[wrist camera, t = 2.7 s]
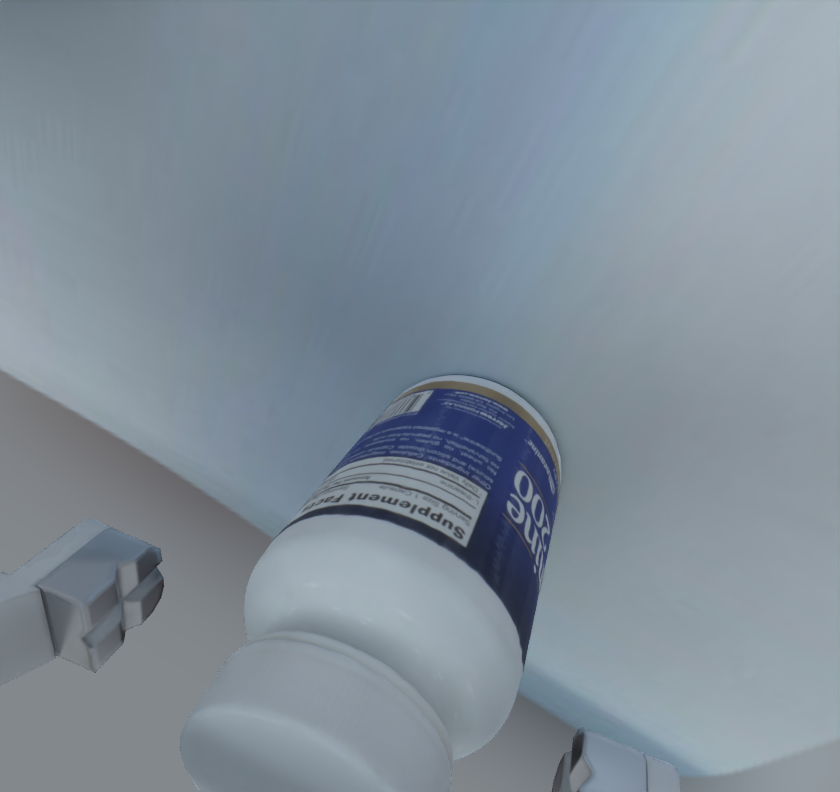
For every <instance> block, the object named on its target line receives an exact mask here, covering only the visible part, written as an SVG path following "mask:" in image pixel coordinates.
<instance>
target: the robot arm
mask: <svg viewBox="0 0 840 792" xmlns="http://www.w3.org/2000/svg"><path fill="white" fill-rule="evenodd" d="M161 562H162V557H161V549H160V548H157V547H155V546H153V545H151V544H148V543H146V542H144V541H141V540H139V539H137V538H135V537H133V536H130V535H128V534H126V533H124V532H121V531H119V530H117V529H115V528H113V527H111V526H108V525H106V524H104V523H101V522H99V521H96V520H94V519H92V518H91V519H88V520H86V521H82V522H80V523H79V524H77V525H76V526H75V527H73V528H72V529H71V530H69V531H68V532H67V533H65V534H64V535H63V536H61V537H60V538H59V539H57V540H56V541H55V542H53V543H52V544H51V545H49V546H48V547H47V548H45V549H44V550H43V551H41V552H40V553H39V554H37V555H36V556H34V557H33V558H32V559H30V560H29V561H28V562H26V563H25V564H24V565H22V566H21V567H20V568H18V569H17V570H16V571H14V572H13V573H12V574H10V575H9V574H7V573H4V572H2V573H0V685H2V684H5V683H7V682H9V681H11V680H13V679H15V678H17V677H19V676H21V675H23V674H25V673H27V672H29V671H31V670H33V669H35V668H37V667H39V666H41V665H43V664H45V663H47V662H49V661H52V660H53V659H55V658H56V656H59V657H61V658H63V659H65V660H68V661H70V662H72V663H74V664H76V665H79V666H81V667H83V668H85V669H88V670H90V671H92V672H94V673H96V672H97V671H98V669H100V668H101V666H102V665H103V664H104V663H105V662H106V661H107V660H108V659H109V658H110V657H111V656H112V655H113V654H114V653H115V652H116V651H117V650H118V649H119V648H120V647H121V646H122V644H123V643H124V637H125V631H126V630H129V629H131V628H134V627H136V626H139V625H141V624H142V623H143V622H144V621H145V620H146V619H147V618H148V617H149V616H150V614H151V613H152V612H153V611H154V609H155V607H156V605H157V604H158V602H159V600H160V598H161V595H162V592H163V588H164V581H163V576H162V575H161V573H160V572H159V570H158V569H157V565H159V564H160V563H161ZM552 792H681V786H680V776H679V773H678V771H677V768H676V767H674V766H673V765H671V764H669V763H666V762H664V761H661V760H659V759H656V758H654V757H651V756H649V755H646V754H644V753H642V752H641V751H639V750H637V749H634V748H632V747H630V746H627V745H625V744H622V743H620V742H617V741H615V740H612V739H610V738H607V737H605V736H602V735H600V734H598V733H595V732H593V731H590V730H588V729H585V728H583V727H582V728H580V729H578V731H577V733H576V734H575V736H574V738H573V746H572V751H570V752H566V753H565V754H564V756H563V757H562V760H561V761H560V763H559V766H558V769H557V773H556V776H555V779H554V783H553V788H552Z"/></svg>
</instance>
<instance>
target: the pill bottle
mask: <svg viewBox="0 0 840 792" xmlns="http://www.w3.org/2000/svg"><path fill="white" fill-rule="evenodd" d="M560 485H561V457H560V454H559V451H558V447H557V443H556V439H555V437H554V435H553V433H552V432H551V430H550V428H549V426H548V425H547V423H546V422H545V420H544V419H543V418H542V417H541V415H540V414H539V413H538V412H537V411H536V410H535V409H534V408H533V407H532V406H531V405H530V404H529V403H528V402H526V401H525V400H524V399H523V398H521V397H520V396H519V395H517V394H516V393H514V392H513V391H511V390H509V389H508V388H506V387H504V386H502V385H500V384H497V383H494V382H492V381H489V380H486V379H481V378H477V377H473V376H465V375H446V376H439V377H434V378H430V379H427V380H424V381H422V382H419V383H417V384H415V385H413V386H411V387H410V388H408V389H406V390H405V391H404V392H403V393H401V394H400V395H399V396H398V397H397V398H396V399H395V400H394V401H393V402H392V403H391V404H390V405H389V406H388V407H387V408H386V409H385V410H384V412H383V413H382V414H381V415H380V416H379V417H378V418H377V419H376V421H375V422H374V423H373V424H372V425H371V427H370V428H369V429H368V430H367V431H366V432H365V433H364V435H363V436H362V437H361V438H360V439H359V440H358V442H357V443H356V444H355V445H354V446H353V447H352V448H351V450H350V451H349V452H348V454H347V455H346V456H345V457H344V458H343V459H342V460H341V462H340V463H339V464H338V465H337V466H336V467H335V469H334V470H333V471H332V472H331V473H330V475H329V476H328V477H327V478H326V479H325V481H324V482H323V483H322V484H321V485H320V486H319V487H318V489H317V490H316V491H315V493H314V494H313V495H312V496H311V497H310V498H309V499H308V501H307V502H306V503H305V504H304V506H303V507H302V508H301V509H300V510H299V511H298V512H297V514H296V515H295V516H294V517H293V518H292V519H291V521H290V522H289V523H288V524H287V525H286V527H285V528H284V529H283V530H282V531H281V532H280V533H279V534H278V535H277V536H276V537H275V538H274V540H273V541H272V542H271V544H270V545H269V547H268V548H267V550H266V551H265V552H264V554H263V555H262V556H261V558H260V559H259V561H258V562H257V564H256V566H255V568H254V570H253V571H252V574H251V576H250V578H249V581H248V584H247V588H246V593H245V600H244V622H245V629H246V635H247V639H248V642H246V643H245V644H244V645H243V646H242V647H241V648H240V649H239V650H237V651H235V652H234V653H233V654H232V655H231V656H229V657H228V658H227V659H226V661H225V662H224V664H223V665H222V667H221V669H220V671H219V673H218V676H217V677H216V678H215V680H214V681H213V683H212V684H211V685H210V687H209V688H208V690H207V691H206V693H205V694H204V695H203V697H202V698H201V700H200V701H199V703H198V704H197V706H196V707H195V708H194V710H193V711H192V713H191V714H190V716H189V717H188V720H187V722H186V724H185V726H184V728H183V730H182V733H181V737H180V751H181V755H182V759H183V762H184V765H185V767H186V770H187V771H188V773H189V775H190V777H191V779H192V781H193V783H194V785H195V786H196V788H197V789H198V790H199V792H449V791H450V785H451V777H452V772H453V762H454V761H455V760H458V759H461V758H463V757H465V756H467V755H470V754H472V753H474V752H475V751H477V750H478V749H480V748H481V747H483V746H484V745H486V744H487V743H488V742H489V741H490V740H491V739H492V738H493V737H494V736H495V735H496V734H497V733H498V732H499V730H500V729H501V728H502V726H503V725H504V723H505V722H506V720H507V719H508V716H509V714H510V712H511V709H512V707H513V704H514V702H515V699H516V695H517V692H518V688H519V685H520V681H521V678H522V674H523V671H524V665H525V660H526V654H527V649H528V644H529V640H530V635H531V630H532V625H533V620H534V615H535V611H536V606H537V600H538V595H539V591H540V588H541V583H542V579H543V573H544V568H545V563H546V559H547V554H548V549H549V544H550V539H551V534H552V529H553V524H554V519H555V514H556V509H557V505H558V498H559V489H560Z"/></svg>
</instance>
